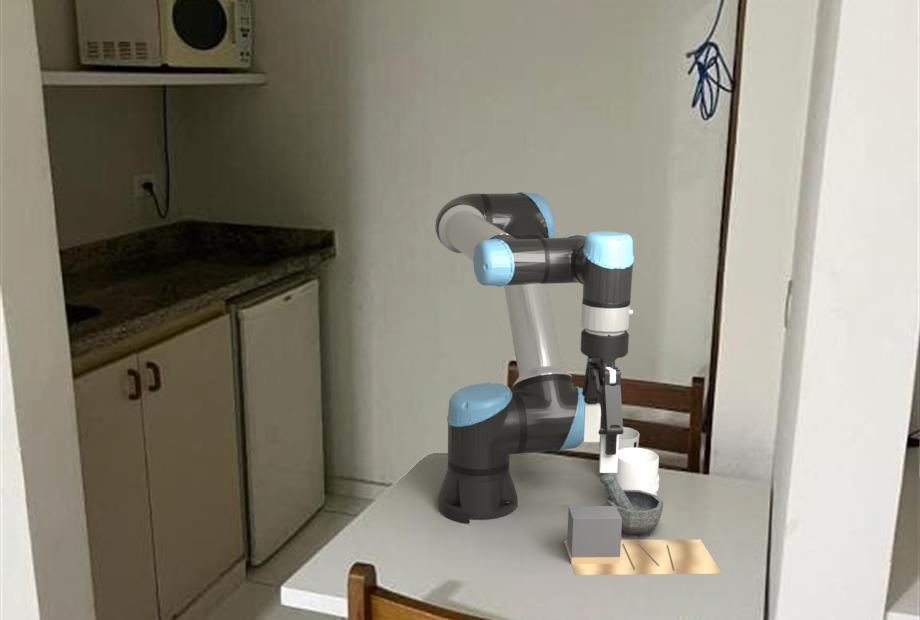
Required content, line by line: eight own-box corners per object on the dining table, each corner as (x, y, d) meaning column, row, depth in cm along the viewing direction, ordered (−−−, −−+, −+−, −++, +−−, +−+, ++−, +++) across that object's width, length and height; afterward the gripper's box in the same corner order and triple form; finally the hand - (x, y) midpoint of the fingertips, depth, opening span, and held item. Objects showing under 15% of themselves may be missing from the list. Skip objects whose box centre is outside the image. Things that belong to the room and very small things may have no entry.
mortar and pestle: (656, 525, 169) (660, 464, 166) (665, 549, 159) (669, 485, 157) (594, 523, 169) (597, 462, 166) (600, 547, 160) (603, 483, 157)
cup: (636, 488, 185) (639, 441, 183) (595, 484, 187) (598, 438, 184) (637, 473, 193) (639, 427, 191) (598, 469, 194) (600, 424, 192)
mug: (642, 497, 181) (645, 439, 178) (662, 523, 169) (666, 462, 167) (601, 498, 180) (604, 440, 177) (619, 525, 168) (622, 463, 166)
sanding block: (571, 564, 152) (573, 519, 150) (566, 549, 157) (568, 506, 155) (619, 563, 152) (622, 518, 150) (613, 549, 157) (615, 505, 155)
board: (574, 580, 149) (574, 574, 148) (563, 545, 160) (563, 540, 160) (721, 578, 150) (722, 573, 149) (699, 544, 161) (700, 539, 161)
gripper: (648, 349, 134) (640, 486, 139) (611, 312, 159) (606, 429, 163) (597, 350, 134) (591, 486, 139) (568, 313, 158) (564, 430, 163)
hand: (599, 456), depth 151 cm, fingers open, 13 cm apart
